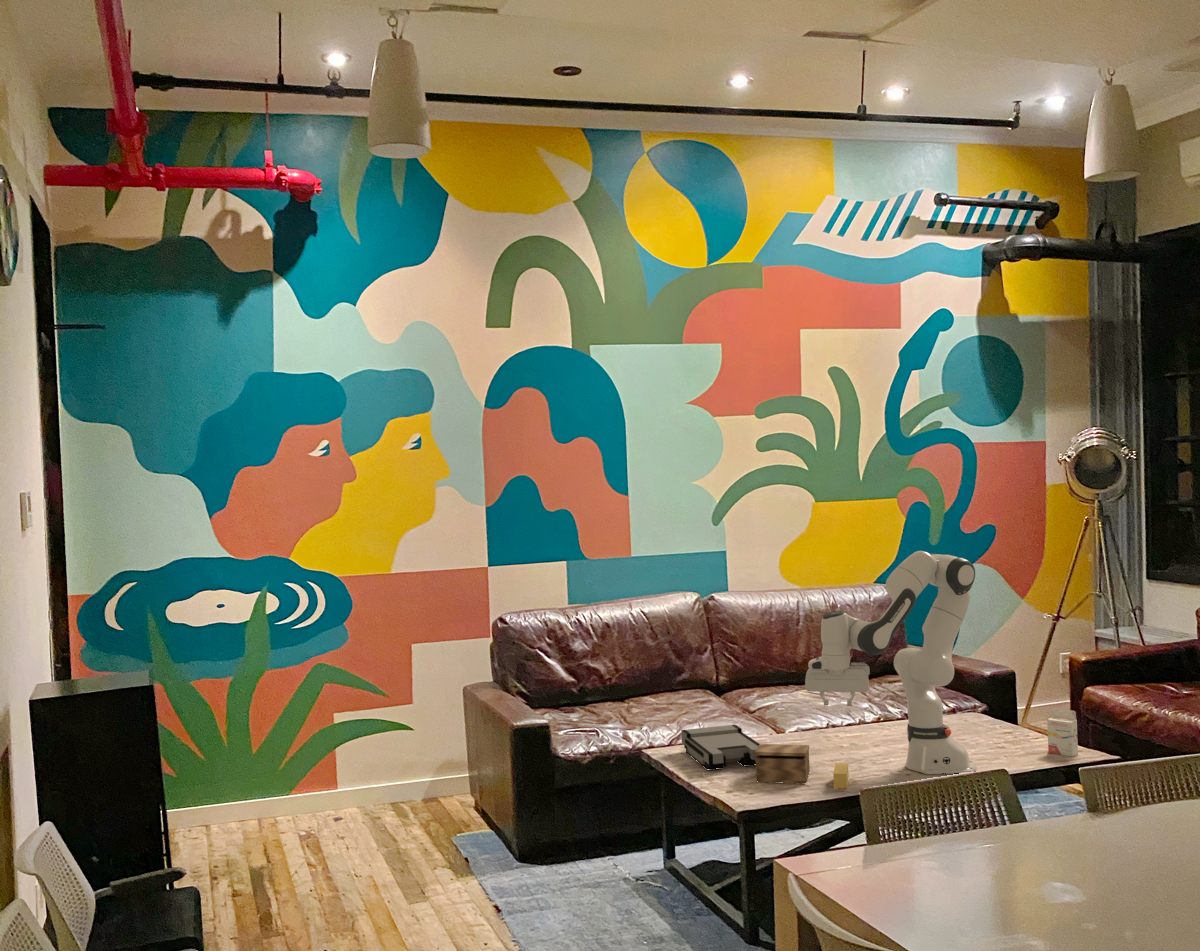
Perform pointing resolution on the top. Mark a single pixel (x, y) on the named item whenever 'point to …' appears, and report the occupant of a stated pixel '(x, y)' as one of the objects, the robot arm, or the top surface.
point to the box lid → (782, 750)
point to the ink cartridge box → (1062, 733)
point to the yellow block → (841, 775)
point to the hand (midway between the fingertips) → (837, 705)
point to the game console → (719, 746)
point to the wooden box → (782, 768)
